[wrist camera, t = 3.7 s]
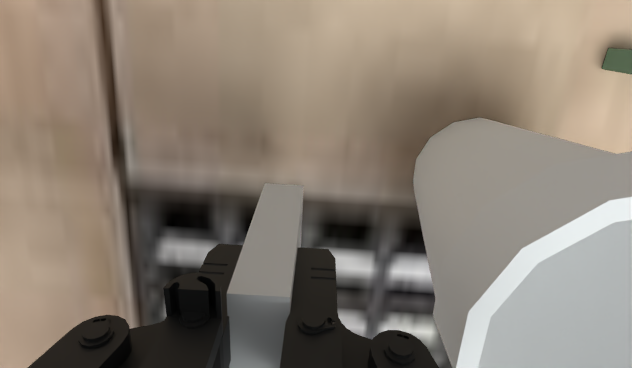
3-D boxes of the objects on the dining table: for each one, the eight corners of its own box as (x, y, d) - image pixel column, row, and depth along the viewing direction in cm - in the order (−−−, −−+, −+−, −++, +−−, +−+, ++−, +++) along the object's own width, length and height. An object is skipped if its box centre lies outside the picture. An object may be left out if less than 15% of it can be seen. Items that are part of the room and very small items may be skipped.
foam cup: (396, 84, 21) (499, 176, 9) (575, 90, 21) (922, 191, 9) (379, 243, 24) (434, 462, 12) (531, 248, 24) (734, 472, 12)
